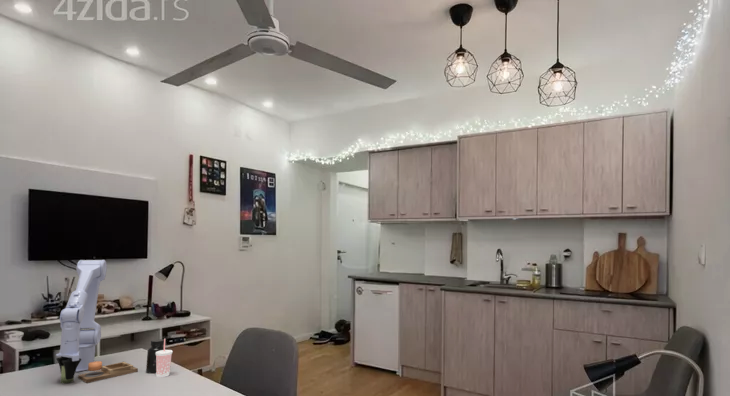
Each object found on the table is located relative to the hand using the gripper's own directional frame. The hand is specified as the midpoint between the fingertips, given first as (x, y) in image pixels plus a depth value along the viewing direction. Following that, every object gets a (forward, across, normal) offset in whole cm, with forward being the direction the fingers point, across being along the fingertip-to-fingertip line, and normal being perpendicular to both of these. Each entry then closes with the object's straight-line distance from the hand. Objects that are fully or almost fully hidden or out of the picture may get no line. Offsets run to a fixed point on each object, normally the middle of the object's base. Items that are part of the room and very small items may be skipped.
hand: (67, 377), depth 157 cm
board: (+1, +3, +13) cm, 13 cm away
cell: (+1, 0, 0) cm, 1 cm away
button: (-2, +3, +8) cm, 9 cm away
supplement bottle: (+2, +12, +27) cm, 30 cm away
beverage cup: (+2, +20, +26) cm, 33 cm away
